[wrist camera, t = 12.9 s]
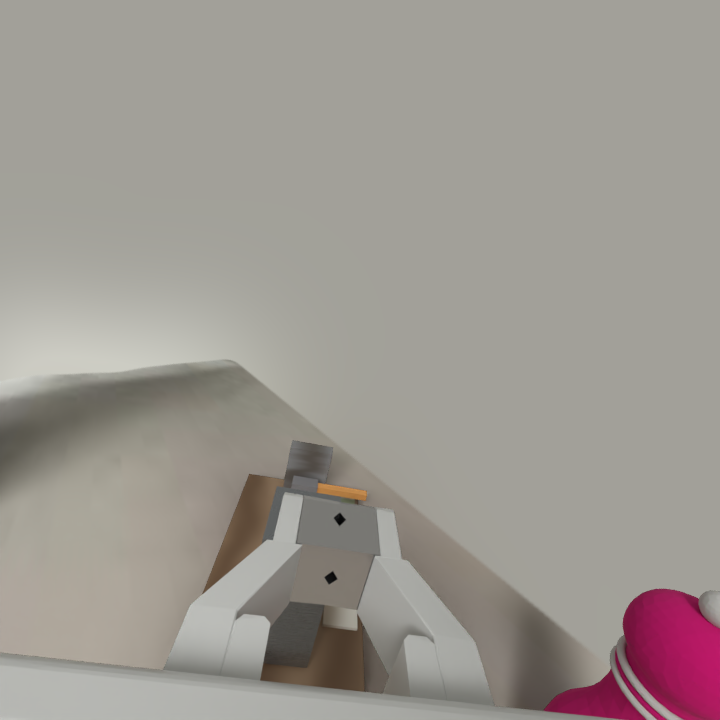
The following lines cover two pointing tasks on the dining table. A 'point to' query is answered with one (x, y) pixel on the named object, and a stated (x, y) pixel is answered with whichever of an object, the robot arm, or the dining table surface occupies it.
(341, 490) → the wood and grey stick
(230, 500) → the dining table surface
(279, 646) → the brushed steel block
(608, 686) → the pepper mill
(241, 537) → the gauge bench
